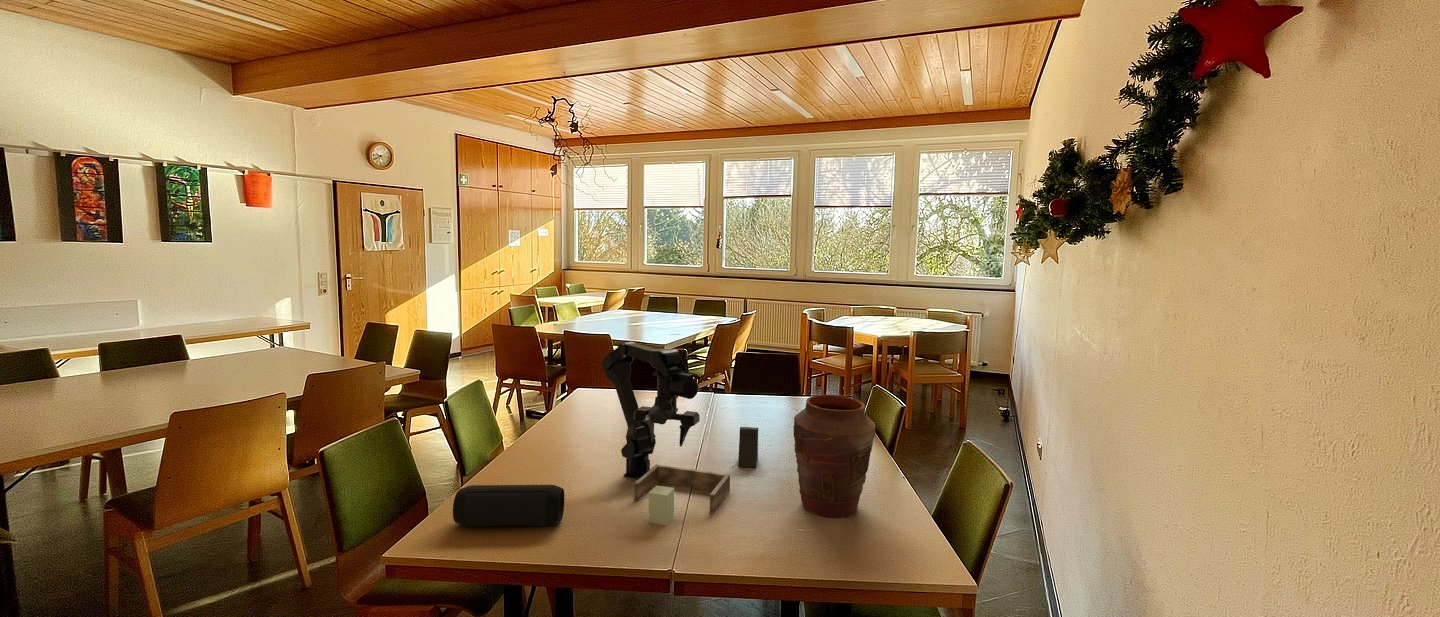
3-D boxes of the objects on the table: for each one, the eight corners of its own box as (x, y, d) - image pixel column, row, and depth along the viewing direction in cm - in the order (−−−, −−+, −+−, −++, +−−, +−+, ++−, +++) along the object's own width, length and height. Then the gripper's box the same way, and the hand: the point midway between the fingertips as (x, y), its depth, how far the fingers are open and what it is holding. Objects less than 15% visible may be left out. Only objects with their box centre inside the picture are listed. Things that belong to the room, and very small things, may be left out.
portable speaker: (565, 515, 157) (565, 478, 156) (557, 533, 147) (557, 494, 146) (465, 516, 155) (464, 479, 154) (451, 534, 145) (450, 495, 144)
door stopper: (756, 468, 193) (757, 432, 191) (737, 467, 193) (738, 431, 192) (758, 458, 201) (759, 424, 200) (740, 457, 202) (741, 423, 201)
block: (648, 522, 153) (648, 492, 152) (656, 514, 158) (656, 485, 157) (666, 525, 152) (667, 495, 151) (673, 517, 157) (674, 487, 156)
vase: (866, 532, 151) (872, 416, 147) (781, 516, 158) (785, 406, 155) (875, 497, 172) (880, 396, 169) (800, 485, 179) (803, 388, 176)
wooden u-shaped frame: (634, 500, 166) (634, 482, 166) (656, 480, 181) (656, 464, 180) (713, 512, 160) (714, 494, 159) (729, 491, 174) (730, 474, 174)
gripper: (625, 395, 168) (625, 449, 170) (687, 402, 163) (686, 457, 164) (642, 387, 179) (641, 437, 180) (700, 392, 173) (699, 444, 175)
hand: (666, 444), depth 175 cm, fingers open, 9 cm apart
